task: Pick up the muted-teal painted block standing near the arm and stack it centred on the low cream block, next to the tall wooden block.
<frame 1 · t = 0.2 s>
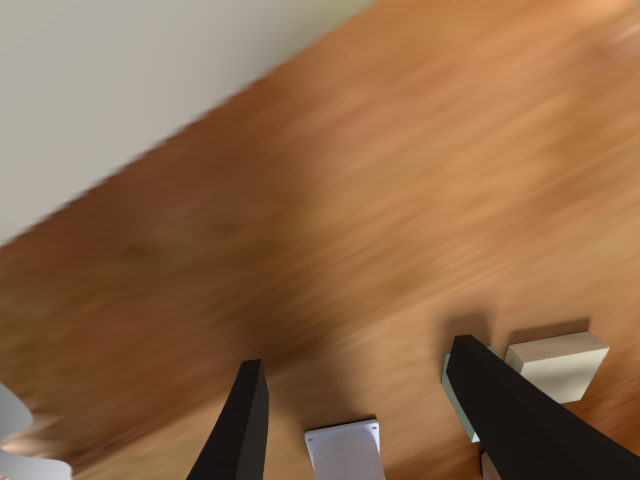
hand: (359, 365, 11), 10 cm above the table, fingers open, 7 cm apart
teal block: (465, 365, 28), on the table
wooden block: (513, 454, 39), on the table
cream block: (538, 364, 29), on the table
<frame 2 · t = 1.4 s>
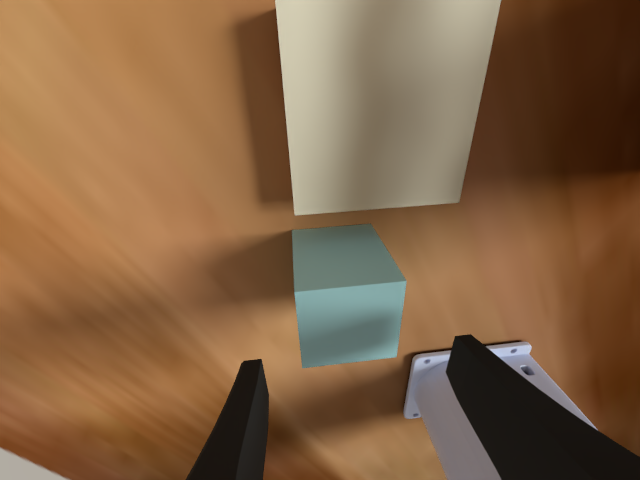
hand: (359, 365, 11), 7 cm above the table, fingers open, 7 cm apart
teal block: (332, 259, 17), on the table
cream block: (371, 113, 13), on the table
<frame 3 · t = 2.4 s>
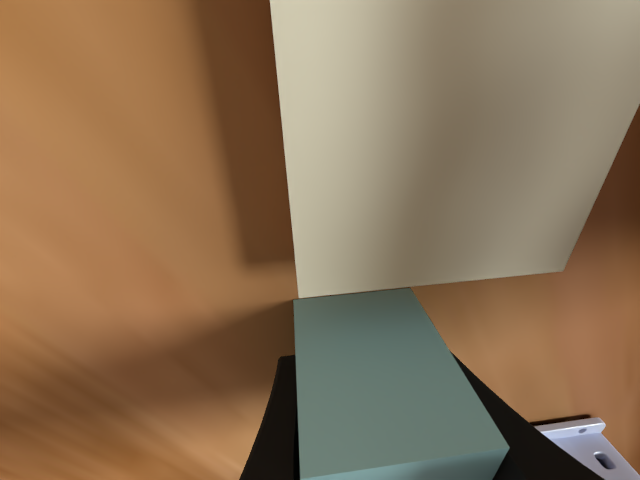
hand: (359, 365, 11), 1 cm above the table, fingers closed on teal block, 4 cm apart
teal block: (351, 335, 12), on the table, touching gripper
cream block: (425, 129, 8), on the table
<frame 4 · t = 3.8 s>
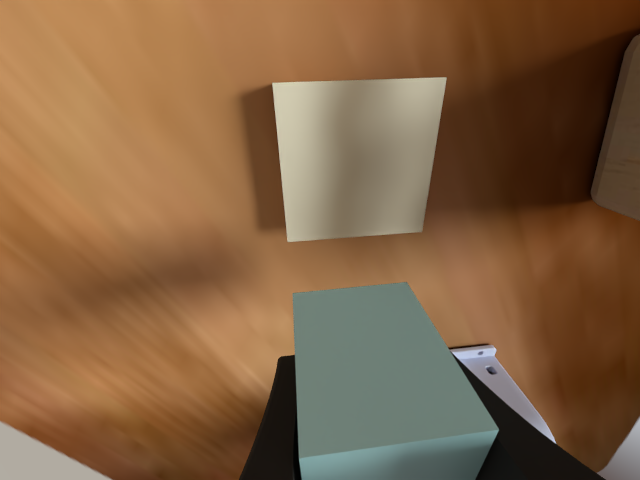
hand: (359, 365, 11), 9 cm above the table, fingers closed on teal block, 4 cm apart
teal block: (349, 329, 12), point 8 cm above the table, touching gripper
cream block: (350, 160, 16), on the table
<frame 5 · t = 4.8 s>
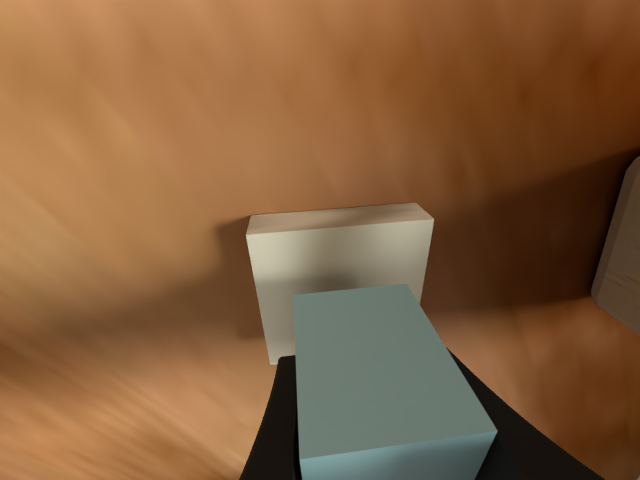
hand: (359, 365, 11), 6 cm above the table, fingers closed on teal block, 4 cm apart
teal block: (350, 330, 12), point 4 cm above the table, touching gripper
cream block: (336, 276, 16), on the table
when the fingers open (5 cm above the table, at t = 5.5 s): teal block stays where it is, resting on cream block.
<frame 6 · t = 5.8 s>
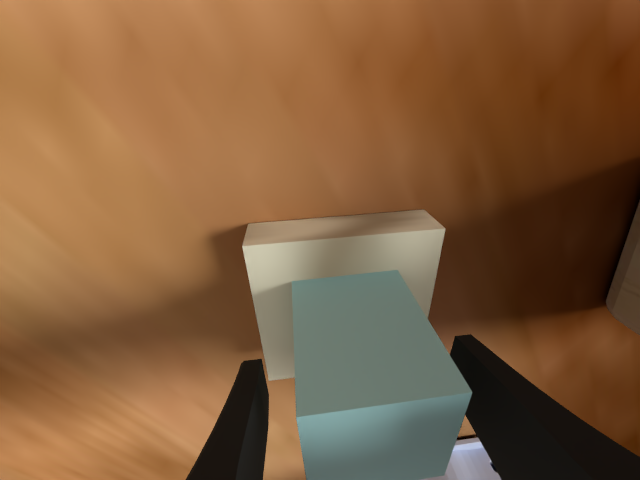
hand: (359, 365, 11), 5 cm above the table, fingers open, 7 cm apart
teal block: (345, 315, 13), point 2 cm above the table, touching cream block
cream block: (338, 287, 15), on the table
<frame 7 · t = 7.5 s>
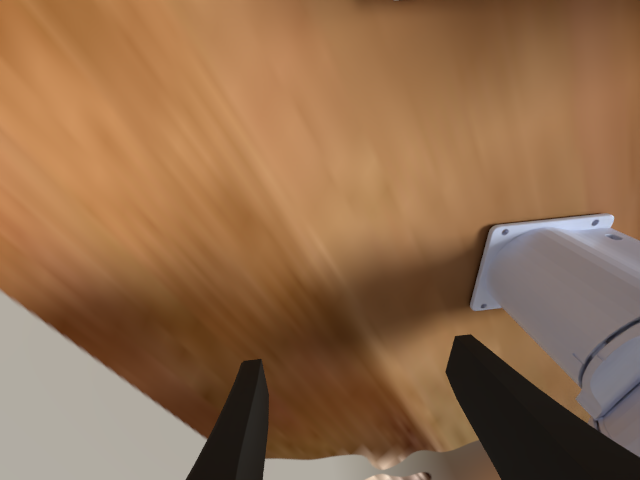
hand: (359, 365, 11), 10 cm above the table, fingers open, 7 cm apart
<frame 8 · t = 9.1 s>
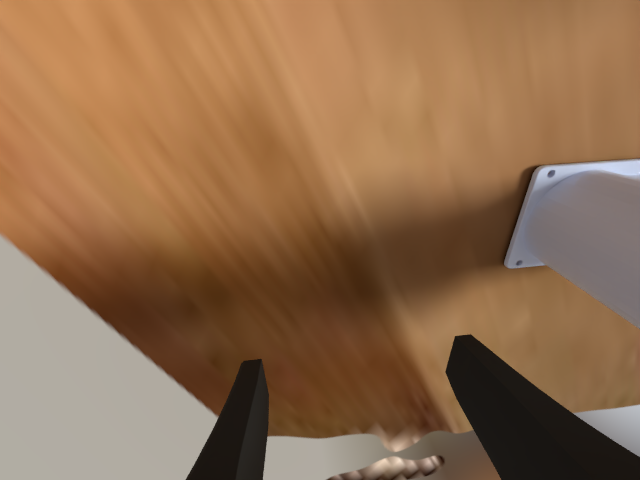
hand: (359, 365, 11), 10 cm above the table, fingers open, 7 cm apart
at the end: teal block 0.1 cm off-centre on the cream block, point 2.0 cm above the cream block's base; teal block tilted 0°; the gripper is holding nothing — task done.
